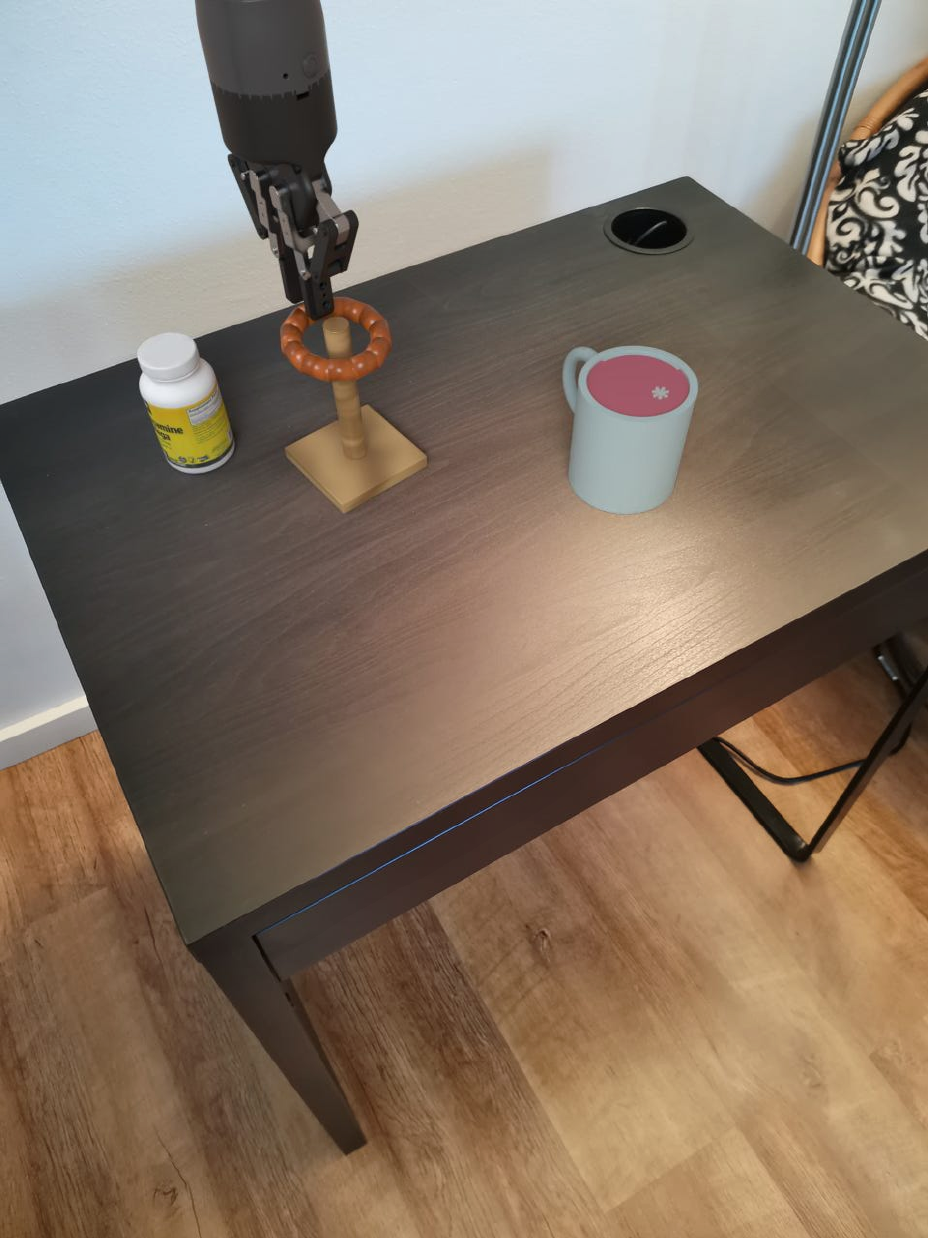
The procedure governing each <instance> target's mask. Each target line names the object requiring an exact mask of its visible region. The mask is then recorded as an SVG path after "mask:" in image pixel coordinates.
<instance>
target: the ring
mask: <svg viewBox="0 0 928 1238" xmlns="http://www.w3.org/2000/svg"><path fill="white" fill-rule="evenodd" d="M333 299H334V305H335V309H334V311H333V313H331V314H330V315H328V316H326V317H323V318H321V319H319V320H317V321H313V320H311V319H310V318H309V317H308V316H307V315H306V312H305V307H304V303H303V304H301V305H299V306H296V307H295V308H294V309H292V311H291V312H290V313H289V315H288V316H287V318H286V319H285V320H284V322H283V323H282V324H281V326H280V329H279V333H280V347H281V353H282V355H283V356H284V357H285V359H286V360H288V361H289V362H290V363H291V365H292V366H293V367H294V368H295V369H296V370H297V371H298V372H299V373H301V374H303V375H306V376H308V377H312V378H315V379H317V380H320V381H322V382H326V383H332V382H336V381H354V380H357V381H358V380H359V379H361V378H363V377H366V376H368V375H369V374H371V373H373V372H376V371H378V370H379V369H380V368H381V367H382V365H383V364H384V362H385V360H386V359H387V358H388V356H389V354H390V352H391V351H392V348H393V341H392V335H391V328H390V324H389V322H388V321H387V320H386V318H384V317H383V316H382V315H381V314H380V313H379V312H378V311H377V309H375V308H374V307H373V306H371V304H368V303H365V302H362V301H360V300H356V299H353V298H350V297H347V296H333ZM331 317H343V318H345V319H347V320H348V322H349V321H350V322H353V323H355V324H358V325H361V327H362V328H363V329H364V330H366V332H367V333H369V340H370V342H369V344H368V345H367V347H366V348H365V350H364V351H362V352H360V353H358V354H356V355H353V356H354V357H352V358H350V359H331V360H329V359H328V358H327V357H323V356H320V355H317V354H314V353H312V352H311V351H310V350H309V349H308V348H307V347H306V346H305V345H304V344H303V336H304V333H305V332H306V331H307V329H308V328H309V327H310V326H313V325H314V324H316V323H317V324H318V323H319V322H320V321H323V320H327V319H328V318H331Z"/></svg>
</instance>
